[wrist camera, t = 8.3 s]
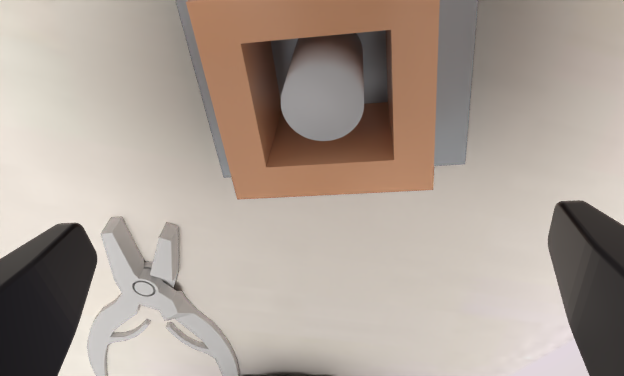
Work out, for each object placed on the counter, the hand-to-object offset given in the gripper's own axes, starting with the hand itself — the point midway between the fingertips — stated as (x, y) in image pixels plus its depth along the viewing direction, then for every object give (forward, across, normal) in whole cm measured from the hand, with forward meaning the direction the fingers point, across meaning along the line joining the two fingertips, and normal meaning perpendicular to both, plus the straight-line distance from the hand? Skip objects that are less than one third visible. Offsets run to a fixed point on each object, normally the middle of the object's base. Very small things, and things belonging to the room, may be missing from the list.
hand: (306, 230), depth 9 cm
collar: (+10, 0, 0) cm, 10 cm away
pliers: (+12, +12, +16) cm, 23 cm away
